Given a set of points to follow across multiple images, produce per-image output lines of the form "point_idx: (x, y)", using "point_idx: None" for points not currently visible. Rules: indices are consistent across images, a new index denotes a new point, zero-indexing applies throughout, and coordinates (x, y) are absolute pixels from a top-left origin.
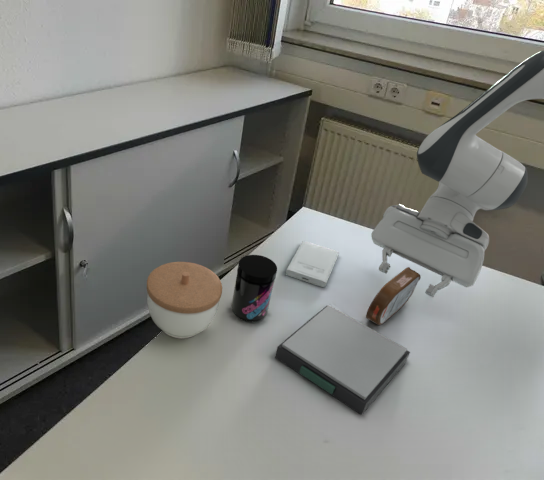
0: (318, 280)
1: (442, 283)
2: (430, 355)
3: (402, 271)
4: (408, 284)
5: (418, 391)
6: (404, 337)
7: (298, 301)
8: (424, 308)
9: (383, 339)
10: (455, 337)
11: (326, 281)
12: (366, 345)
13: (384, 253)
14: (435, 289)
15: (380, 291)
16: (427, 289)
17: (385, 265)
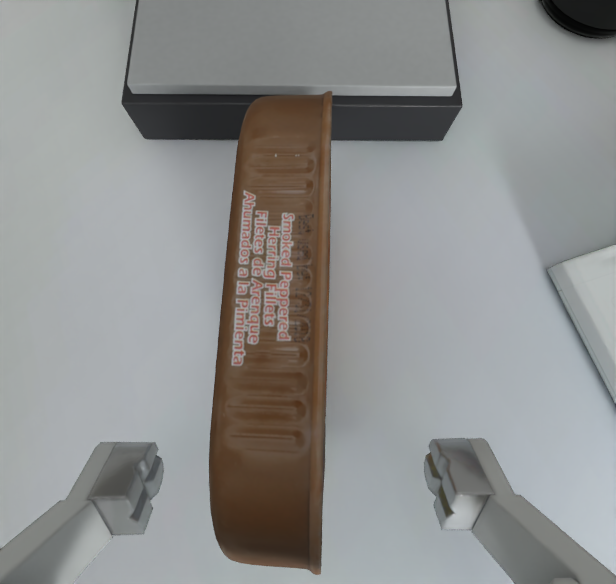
0: (591, 253)
1: (19, 546)
2: (87, 228)
3: (320, 370)
4: (224, 278)
5: (78, 68)
6: (190, 244)
7: (540, 138)
8: (190, 494)
9: (213, 66)
10: (28, 402)
11: (568, 272)
12: (245, 6)
13: (573, 559)
14: (83, 475)
15: (325, 95)
16: (140, 452)
17: (469, 469)
